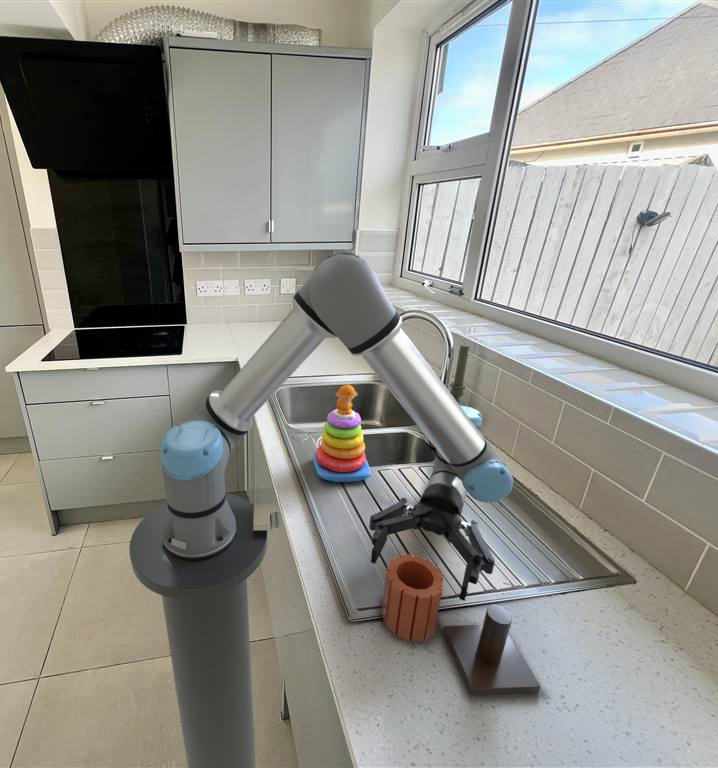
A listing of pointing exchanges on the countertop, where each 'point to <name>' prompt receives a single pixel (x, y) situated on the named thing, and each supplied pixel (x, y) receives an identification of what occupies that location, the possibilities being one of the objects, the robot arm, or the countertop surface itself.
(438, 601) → the ring
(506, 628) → the ring holder
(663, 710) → the countertop surface
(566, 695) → the countertop surface
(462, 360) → the candlestick holder
